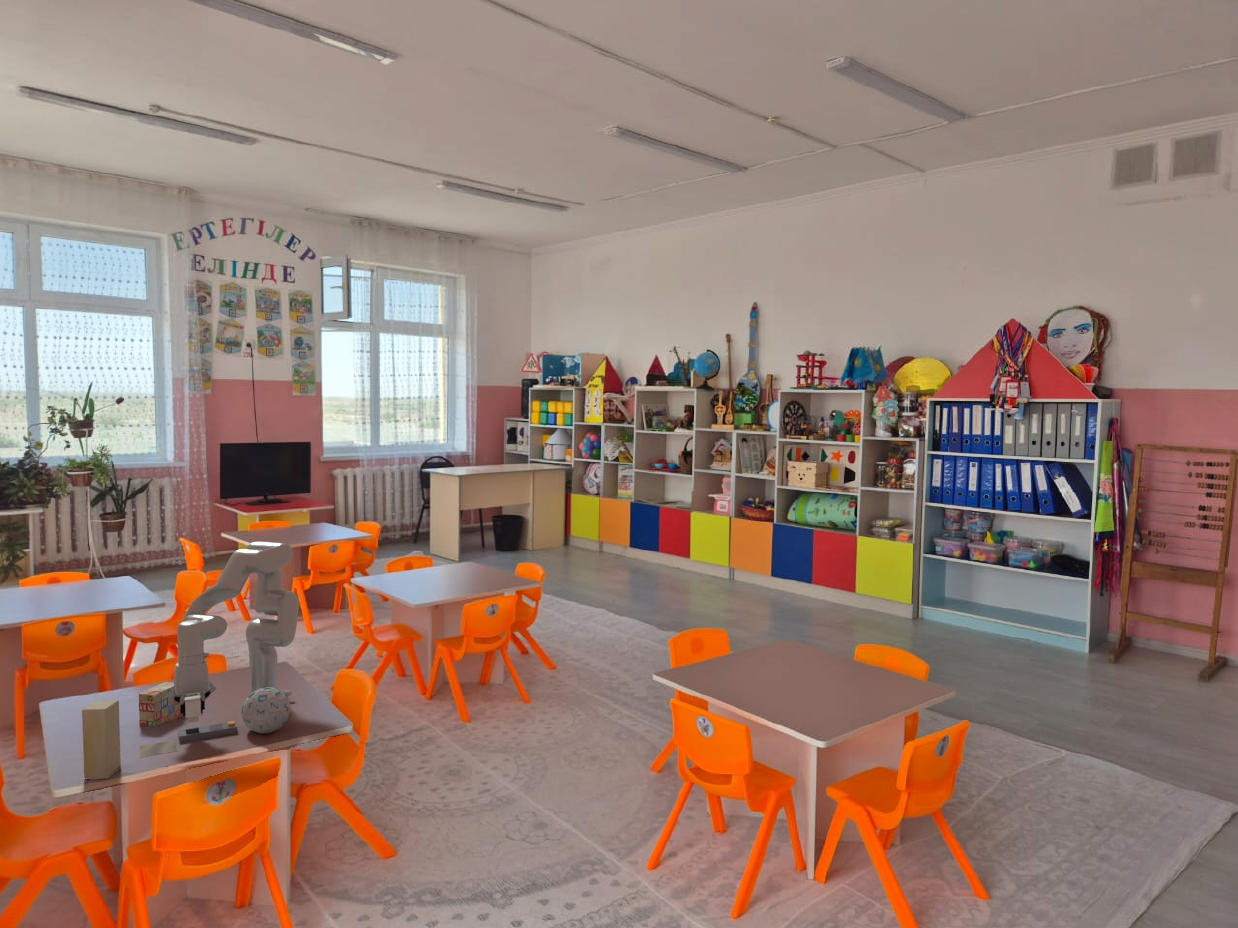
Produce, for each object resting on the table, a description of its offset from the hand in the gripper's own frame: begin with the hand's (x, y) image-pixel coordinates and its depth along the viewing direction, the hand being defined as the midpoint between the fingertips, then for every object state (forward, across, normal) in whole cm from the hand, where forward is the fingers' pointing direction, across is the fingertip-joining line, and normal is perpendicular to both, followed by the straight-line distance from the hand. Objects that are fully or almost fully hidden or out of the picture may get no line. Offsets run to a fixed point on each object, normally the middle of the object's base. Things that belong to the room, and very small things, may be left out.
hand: (192, 712), depth 271 cm
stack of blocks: (+10, +6, -26) cm, 28 cm away
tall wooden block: (+9, +25, +15) cm, 31 cm away
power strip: (+9, -4, 0) cm, 10 cm away
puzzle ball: (+9, -22, +4) cm, 24 cm away
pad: (+9, +10, +5) cm, 15 cm away
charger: (+2, 0, 0) cm, 2 cm away
